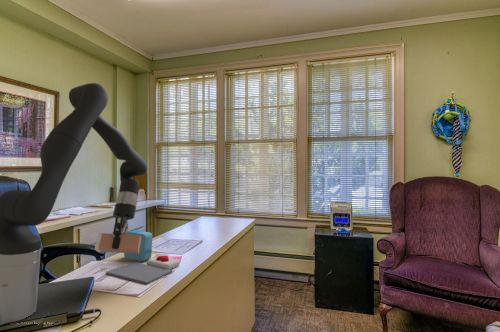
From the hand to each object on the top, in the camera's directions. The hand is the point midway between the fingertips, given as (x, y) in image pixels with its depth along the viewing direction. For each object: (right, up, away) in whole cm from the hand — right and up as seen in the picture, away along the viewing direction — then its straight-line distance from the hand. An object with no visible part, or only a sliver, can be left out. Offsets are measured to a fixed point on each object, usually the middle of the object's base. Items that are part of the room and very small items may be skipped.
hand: (116, 250), depth 99 cm
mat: (+5, -12, +9) cm, 15 cm away
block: (+7, +1, +3) cm, 8 cm away
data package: (-3, -12, +26) cm, 29 cm away
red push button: (+11, -13, +19) cm, 26 cm away
